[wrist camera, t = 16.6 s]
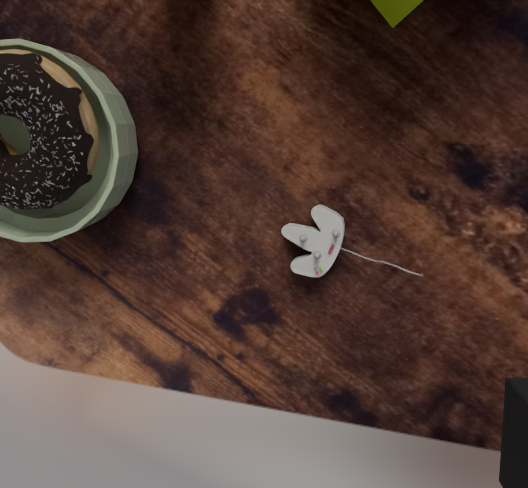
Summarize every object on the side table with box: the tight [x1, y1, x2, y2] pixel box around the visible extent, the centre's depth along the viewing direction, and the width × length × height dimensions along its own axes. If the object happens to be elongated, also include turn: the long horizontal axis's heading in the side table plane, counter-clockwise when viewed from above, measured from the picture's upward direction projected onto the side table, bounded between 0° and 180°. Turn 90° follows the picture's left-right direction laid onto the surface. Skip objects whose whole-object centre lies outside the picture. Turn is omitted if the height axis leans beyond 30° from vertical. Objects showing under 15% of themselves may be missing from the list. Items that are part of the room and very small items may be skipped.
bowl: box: [0, 39, 138, 243], centre depth 37 cm, size 14×14×5 cm
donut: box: [0, 49, 99, 210], centre depth 34 cm, size 11×12×4 cm
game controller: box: [281, 204, 423, 277], centre depth 39 cm, size 6×12×3 cm, turn 89°
